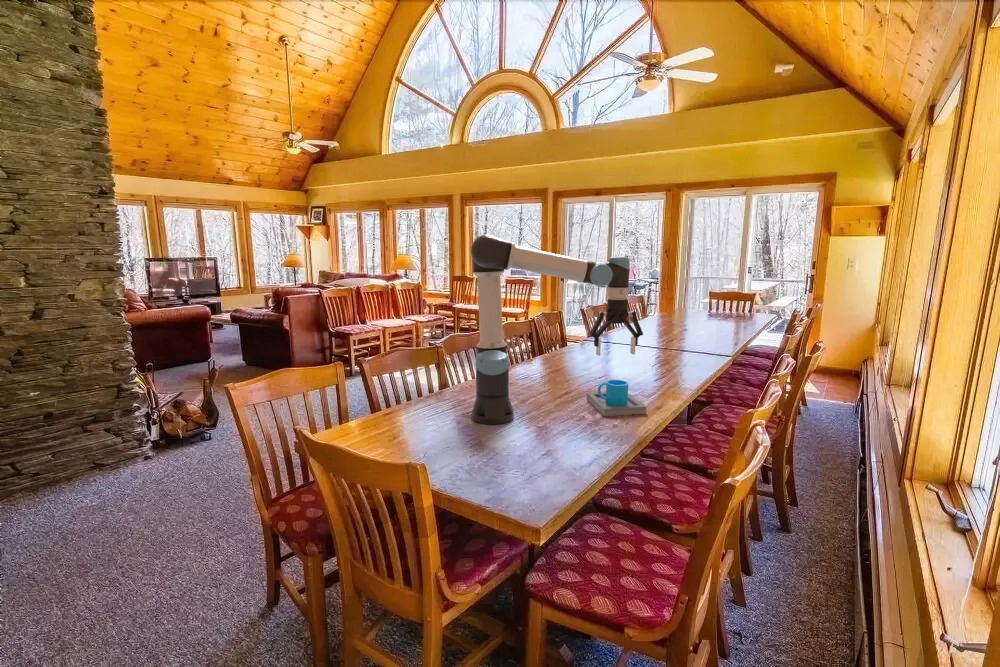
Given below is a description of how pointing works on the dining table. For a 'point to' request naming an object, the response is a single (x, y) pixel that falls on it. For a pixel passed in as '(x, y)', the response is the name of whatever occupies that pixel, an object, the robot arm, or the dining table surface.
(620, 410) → the tray
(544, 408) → the dining table surface
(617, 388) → the mug
